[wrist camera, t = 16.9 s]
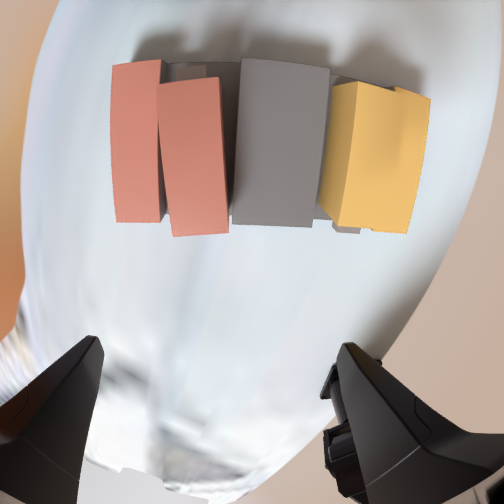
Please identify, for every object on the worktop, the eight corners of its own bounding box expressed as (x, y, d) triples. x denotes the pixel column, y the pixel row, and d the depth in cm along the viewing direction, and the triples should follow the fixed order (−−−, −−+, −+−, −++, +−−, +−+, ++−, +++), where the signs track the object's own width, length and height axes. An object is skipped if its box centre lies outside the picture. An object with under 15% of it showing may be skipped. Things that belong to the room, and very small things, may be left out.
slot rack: (390, 220, 21) (406, 233, 18) (129, 208, 19) (116, 222, 16) (410, 98, 16) (430, 99, 14) (127, 70, 14) (112, 65, 12)
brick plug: (229, 208, 18) (228, 232, 15) (184, 211, 18) (172, 237, 15) (221, 70, 14) (217, 57, 11) (171, 76, 14) (155, 66, 10)
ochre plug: (332, 86, 15) (358, 81, 11) (373, 96, 15) (405, 95, 12) (315, 217, 19) (334, 242, 15) (354, 219, 19) (378, 244, 16)
